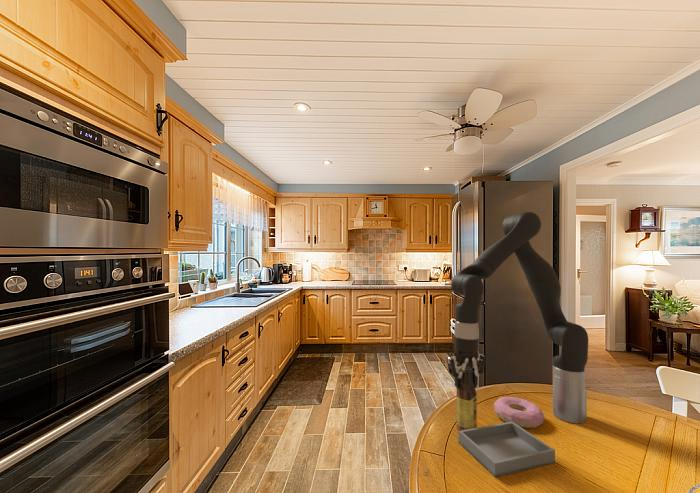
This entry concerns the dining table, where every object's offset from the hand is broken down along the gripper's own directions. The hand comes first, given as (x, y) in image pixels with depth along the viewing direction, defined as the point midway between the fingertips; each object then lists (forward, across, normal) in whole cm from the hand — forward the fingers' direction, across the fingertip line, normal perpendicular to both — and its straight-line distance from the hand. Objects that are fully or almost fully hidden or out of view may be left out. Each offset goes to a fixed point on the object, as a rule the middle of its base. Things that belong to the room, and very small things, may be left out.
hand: (466, 387), depth 101 cm
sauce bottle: (+14, 0, 0) cm, 14 cm away
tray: (+13, -3, +13) cm, 19 cm away
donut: (+14, -22, -1) cm, 26 cm away
